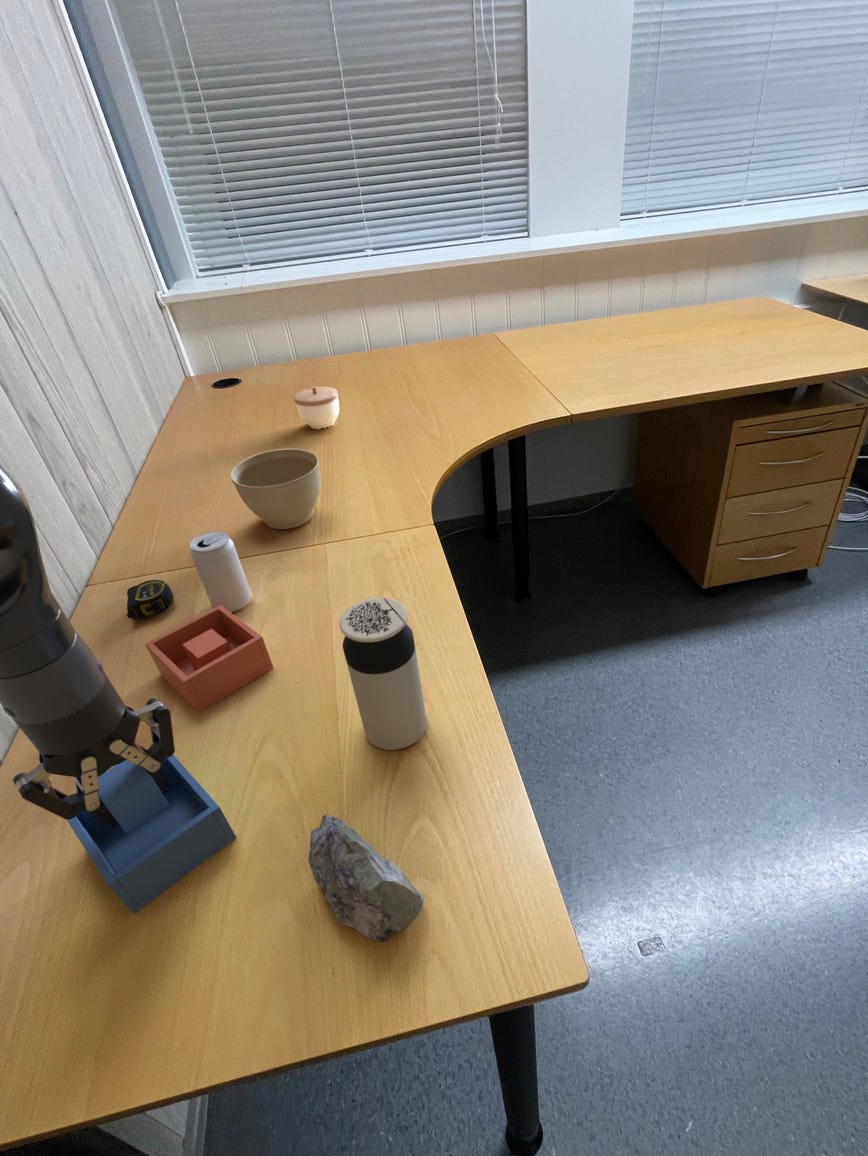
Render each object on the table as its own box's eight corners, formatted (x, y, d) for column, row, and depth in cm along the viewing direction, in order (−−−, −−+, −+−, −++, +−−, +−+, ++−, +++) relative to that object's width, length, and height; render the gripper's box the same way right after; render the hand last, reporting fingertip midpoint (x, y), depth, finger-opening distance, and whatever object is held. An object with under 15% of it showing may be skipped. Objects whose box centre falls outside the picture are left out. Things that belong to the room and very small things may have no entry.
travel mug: (375, 760, 76) (346, 649, 64) (358, 716, 81) (329, 607, 70) (436, 738, 78) (419, 627, 66) (415, 697, 83) (397, 588, 72)
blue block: (126, 833, 62) (106, 807, 59) (108, 808, 64) (88, 781, 61) (169, 805, 64) (152, 778, 61) (150, 781, 67) (133, 754, 64)
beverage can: (205, 605, 102) (179, 542, 94) (240, 587, 105) (217, 525, 98) (225, 620, 98) (199, 556, 91) (260, 601, 102) (238, 538, 94)
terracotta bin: (199, 712, 83) (183, 681, 80) (160, 674, 90) (144, 643, 86) (273, 667, 89) (262, 636, 86) (232, 634, 96) (220, 604, 92)
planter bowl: (292, 491, 131) (279, 442, 124) (347, 510, 124) (336, 459, 117) (230, 525, 122) (211, 473, 115) (285, 548, 114) (269, 494, 107)
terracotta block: (208, 682, 87) (197, 658, 84) (193, 667, 89) (182, 644, 86) (237, 665, 89) (227, 641, 86) (221, 651, 91) (211, 628, 89)
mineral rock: (311, 842, 67) (288, 786, 61) (409, 819, 69) (397, 762, 63) (316, 963, 58) (290, 911, 51) (430, 932, 59) (418, 879, 53)
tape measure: (133, 602, 104) (124, 584, 101) (176, 592, 105) (168, 573, 103) (132, 626, 99) (121, 607, 96) (177, 614, 100) (168, 596, 98)
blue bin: (133, 914, 62) (107, 885, 59) (89, 845, 69) (63, 815, 65) (236, 837, 68) (219, 806, 65) (187, 780, 75) (169, 749, 71)
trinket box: (350, 425, 158) (342, 387, 152) (310, 436, 154) (301, 398, 148) (332, 413, 165) (325, 377, 159) (294, 424, 161) (285, 386, 155)
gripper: (120, 629, 59) (185, 746, 70) (-51, 714, 51) (52, 829, 62) (155, 664, 55) (218, 782, 66) (-25, 762, 47) (80, 876, 58)
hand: (137, 804), depth 64 cm, fingers closed on blue block, 4 cm apart
